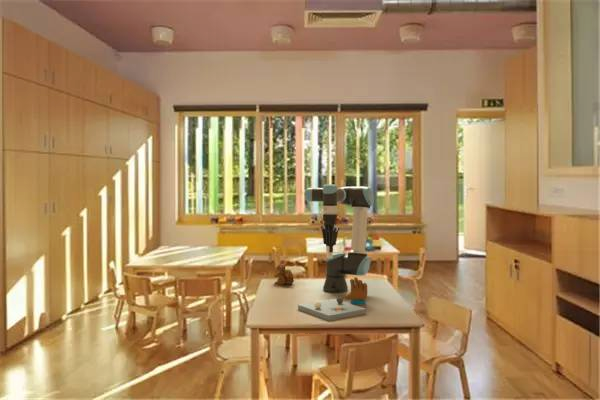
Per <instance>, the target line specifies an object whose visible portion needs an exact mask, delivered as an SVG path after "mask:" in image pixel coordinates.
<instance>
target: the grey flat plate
mask: <svg viewBox="0 0 600 400" xmlns="http://www.w3.org/2000/svg"><path fill="white" fill-rule="evenodd" d="M316 302H320V303H321V307H320V308H319V309H317V308H316V307H315V303H316ZM337 307H341V308H342V310H336V308H337ZM297 309H298V310H299V311H300V312H301V311H302V312H304V313H306V314H309V315H312V316H315V317H318V318H320V319H322V320H326V321H328V322H330V321H334V320H335V321H336V320H339V319H345V318H351V317H357V316H360V315H361V316H362V315H366V314H367V308H365V307H362V306H358V305H357V304H352V303H349V302H345V301H343V302H342V303H341V304H339V303H338V302H337V298H331V299H326V300H325V299H324V300H320V301H319V300H318V301H313V302H307V303H300V304H298V305H297Z"/></svg>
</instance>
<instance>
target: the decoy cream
mask: <svg viewBox="0 0 600 400" xmlns="http://www.w3.org/2000/svg"><path fill="white" fill-rule="evenodd" d="M315 302H316V303H315V307H316V308H317V309H319V308H320V307H321V303H320V302H318V301H315Z"/></svg>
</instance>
